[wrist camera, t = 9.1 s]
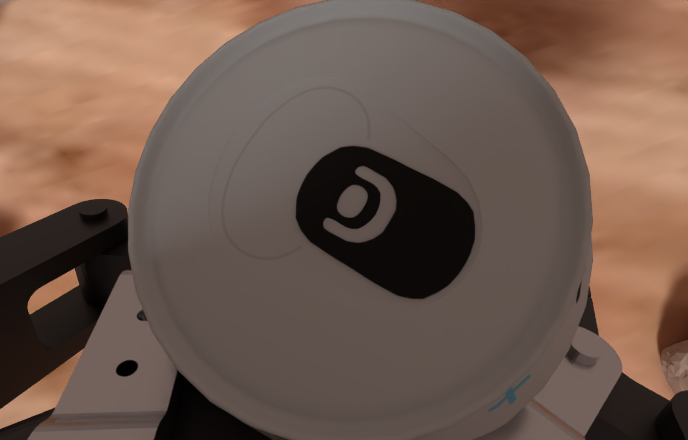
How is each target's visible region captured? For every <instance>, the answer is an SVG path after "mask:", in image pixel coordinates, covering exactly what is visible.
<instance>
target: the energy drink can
mask: <svg viewBox="0 0 688 440" xmlns="http://www.w3.org/2000/svg"><path fill="white" fill-rule="evenodd" d="M592 225H593V216H592V202H591V189H590V175H589V171H588V167H587V164H586V161H585V157H584V154H583V151H582V147H581V144H580V141H579V137H578V134H577V131H576V128H575V126H574V125H573V123H572V121H571V119H570V117H569V116H568V114H567V112H566V110H565V108H564V107H563V105H562V103H561V101H560V99H559V98H558V96H557V94H556V92H555V90H554V89H553V88H552V87H551V85H550V84H549V83H548V82H547V81H546V80H545V79H544V77H543V76H542V75H541V74H540V73H539V72H538V70H537V69H536V68H535V67H534V66H533V65H532V63H531V62H530V61H529V60H528V59H527V58H526V57H525V56H524V55H523V54H522V53H520V52H519V51H518V50H516V49H515V48H514V47H513V46H511V45H510V44H509V43H507V42H506V41H505V40H503V39H502V38H501V37H500V36H498V35H497V34H496V33H494V32H493V31H492V30H490V29H488V28H486V27H484V26H482V25H480V24H478V23H476V22H474V21H472V20H470V19H468V18H466V17H464V16H462V15H460V14H458V13H456V12H454V11H450V10H447V9H444V8H440V7H437V6H433V5H430V4H426V3H423V2H419V1H416V0H326V1H321V2H317V3H313V4H308V5H304V6H300V7H296V8H293V9H291V10H288V11H286V12H283V13H281V14H278V15H276V16H274V17H271V18H269V19H266V20H264V21H261V22H259V23H258V24H256V25H254V26H253V27H251V28H249V29H248V30H246V31H244V32H243V33H241V34H239V35H238V36H236V37H235V38H233V39H231V40H230V41H228V42H226V43H225V44H224V45H223V46H222V47H220V48H219V49H218V50H217V51H216V52H215V53H213V54H212V55H211V56H210V57H209V58H208V59H206V60H205V61H204V62H203V63H202V64H200V65H199V66H198V67H197V68H196V69H195V70H194V71H193V73H192V74H191V75H190V76H189V77H188V78H187V80H186V81H185V82H184V83H183V84H182V85H181V87H180V88H179V89H178V90H177V91H176V93H175V94H174V95H173V96H172V97H171V99H170V100H169V102H168V104H167V105H166V107H165V109H164V110H163V112H162V114H161V115H160V117H159V119H158V120H157V122H156V124H155V125H154V127H153V129H152V131H151V132H150V135H149V137H148V140H147V142H146V145H145V148H144V150H143V153H142V155H141V158H140V161H139V163H138V166H137V168H136V172H135V177H134V183H133V188H132V193H131V198H130V204H129V209H128V253H129V258H130V264H131V269H132V274H133V279H134V285H135V290H136V294H137V296H138V299H139V301H140V303H141V306H142V308H143V311H144V313H145V316H146V318H147V321H148V323H149V326H150V328H151V331H152V333H153V335H154V336H155V337H156V339H157V340H158V342H159V343H160V345H161V346H162V348H163V349H164V351H165V352H166V354H167V355H168V357H169V358H170V360H171V361H172V363H173V364H174V366H175V367H176V369H177V370H178V371H179V372H180V373H181V374H182V375H183V376H184V377H185V378H186V379H187V380H188V381H189V382H190V383H191V384H192V385H193V386H195V387H196V388H197V389H198V390H199V391H200V392H201V393H202V394H203V395H204V396H205V397H206V398H207V399H208V400H209V401H210V402H211V403H213V404H215V405H216V406H218V407H220V408H221V409H223V410H224V411H226V412H228V413H229V414H231V415H233V416H234V417H236V418H237V419H239V420H240V421H242V422H243V423H245V424H247V425H248V426H250V427H252V428H253V429H255V430H257V431H258V432H260V433H262V434H264V435H265V436H267V437H269V438H270V439H272V440H472V439H475V438H478V437H480V436H483V435H485V434H487V433H490V432H492V431H494V430H496V429H498V428H500V427H502V426H503V425H505V424H507V423H508V422H509V421H510V420H511V419H512V418H513V417H514V416H515V415H516V414H517V413H518V412H519V411H520V410H521V409H523V408H524V407H525V406H526V405H527V404H528V403H529V402H530V401H531V400H532V399H533V398H534V397H535V396H536V395H537V394H538V393H539V392H540V391H541V390H542V389H543V388H544V386H545V385H546V384H547V382H548V381H549V379H550V378H551V376H552V375H553V373H554V372H555V370H556V369H557V367H558V366H559V364H560V363H561V361H562V360H563V358H564V357H565V355H566V354H567V352H568V351H569V349H570V346H571V344H572V341H573V338H574V336H575V333H576V331H577V328H578V325H579V323H580V320H581V318H582V315H583V312H584V310H585V307H586V303H587V297H588V290H589V283H590V276H591V270H592V263H593V253H592V239H591V231H592Z"/></svg>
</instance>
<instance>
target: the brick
mask: <svg viewBox="0 0 688 440" xmlns="http://www.w3.org/2000/svg"><path fill="white" fill-rule="evenodd" d="M661 364H662V367H663V372H664V374H665V376H666V379H667V381H668V383H669V385H670V386H671V388H672V389H673V391H674V393H675V395H676V394H677V393H678V392H681V391H685V390H688V340H685V341H682V342H679V343H674V344H673V345H671V346H669V347H666V348H664V349H663V350H662V352H661Z"/></svg>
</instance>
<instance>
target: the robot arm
mask: <svg viewBox="0 0 688 440" xmlns="http://www.w3.org/2000/svg"><path fill="white" fill-rule="evenodd" d="M74 268H75V271H76V275H77V278H78V282H79V286H77V287H75V288H74V289H72V290H70V291H69V292H67V293H65V294H64V295H62V296H60V297H59V298H57V299H55V300H54V301H52V302H50V303H49V304H47V305H45V306H44V307H42V308H40V309H39V310H37V311H35V312H34V313H32V314H30V315H29V312H28V309H27V305H28V301H29V299H30V297H31V296H32V294H33V293H34V292H35V291H36V290H37V289H39V288H40V287H42V286H44V285H45V284H47V283H49V282H51V281H53V280H54V279H56V278H58V277H60V276H61V275H63V274H65V273H67V272H69V271H70V270H72V269H74ZM82 349H84V350H83V352H82V354H81V357H80V359H79V361H78V363H77V365H76V367H75V369H74V371H73V373H72V375H71V377H70V379H69V381H68V384H67V386H66V388H65V390H64V392H63V394H62V396H61V398H60V400H59V402H58V404H57V406H56V408H53V409H51V410H48V411H45V412H43V413H40V414H38V415H35V416H33V417H30V418H27V419H25V420H22V421H20V422H17V423H15V424H12V425H9V426H7V427H4V428H2V429H0V440H272V439H270V438H269V437H267V436H265V435H264V434H262V433H260V432H258V431H257V430H255V429H253V428H252V427H250V426H248V425H247V424H245V423H243V422H242V421H240V420H239V419H237V418H236V417H234V416H233V415H231V414H229V413H228V412H226V411H224V410H223V409H221V408H220V407H218V406H216V405H215V404H213V403H211V402H210V401H209V400H208V399H207V398H206V397H205V396H204V395H203V394H202V393H201V392H200V391H199V390H198V389H197V388H196V387H195V386H193V385H192V384H191V383H190V382H189V381H188V380H187V379H186V378H185V377H184V376H183V375H182V374H181V373H180V372H179V371H178V370H177V369H176V367H175V366H174V364H173V363H172V361H171V360H170V358H169V357H168V355H167V354H166V352H165V351H164V349H163V348H162V346H161V345H160V343H159V342H158V340H157V339H156V337H155V336H154V335H153V333H152V331H151V328H150V326H149V323H148V321H147V318H146V316H145V313H144V311H143V308H142V306H141V303H140V301H139V299H138V296H137V294H136V290H135V285H134V279H133V274H132V269H131V264H130V258H129V253H128V212H127V208H126V206H125V205H124V204H122V203H120V202H118V201H115V200H109V199H94V200H88V201H84V202H80V203H77V204H75V205H72V206H70V207H68V208H66V209H63V210H61V211H59V212H57V213H54V214H52V215H50V216H48V217H45V218H43V219H41V220H39V221H36V222H34V223H32V224H30V225H27V226H25V227H23V228H21V229H18V230H16V231H14V232H11V233H9V234H7V235H5V236H2V237H0V409H1V408H2V407H4V406H5V405H6V404H8V403H9V402H11V401H12V400H13V399H15V398H16V397H17V396H19V395H20V394H22V393H23V392H24V391H26V390H27V389H29V388H30V387H31V386H33V385H34V384H35V383H37V382H38V381H40V380H41V379H42V378H44V377H45V376H46V375H48V374H49V373H51V372H52V371H53V370H55V369H56V368H57V367H59V366H60V365H62V364H63V363H64V362H66V361H67V360H68V359H70V358H71V357H73V356H74V355H75V354H77V353H78V352H79V351H81V350H82ZM472 440H688V390H685V391H681V392H678V393H677V394H676V395H675V396H674V397H673V398H672V399H671V400H670V401H669V400H667V399H666V398H664V397H662V396H660V395H658V394H657V393H655V392H653V391H651V390H649V389H648V388H646V387H644V386H642V385H640V384H639V383H637V382H635V381H634V380H632V379H631V378H629V377H628V376H626V375H625V374H624V373H623V372H622V363H621V360H620V358H619V356H618V354H617V353H616V351H615V350H614V349H613V348H612V347H611V346H610V345H609V344H608V343H607V342H606V341H605V340H604V339H602V338H601V337H599V334H598V328H597V323H596V318H595V313H594V307H593V302H592V298H591V292H590V287H589V290H588V297H587V303H586V307H585V310H584V312H583V315H582V318H581V320H580V323H579V325H578V328H577V331H576V333H575V336H574V338H573V341H572V344H571V346H570V349H569V351H568V352H567V354H566V355H565V357H564V358H563V360H562V361H561V363H560V364H559V366H558V367H557V369H556V370H555V372H554V373H553V375H552V376H551V378H550V379H549V381H548V382H547V384H546V385H545V386H544V388H543V389H542V390H541V391H540V392H539V393H538V394H537V395H536V396H535V397H534V398H533V399H532V400H531V401H530V402H529V403H528V404H527V405H526V406H525V407H524V408H523V409H521V410H520V411H519V412H518V413H517V414H516V415H515V416H514V417H513V418H512V419H511V420H510V421H509V422H508V423H507V424H505V425H503V426H502V427H500V428H498V429H496V430H494V431H492V432H490V433H487V434H485V435H483V436H480V437H478V438H475V439H472Z"/></svg>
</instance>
